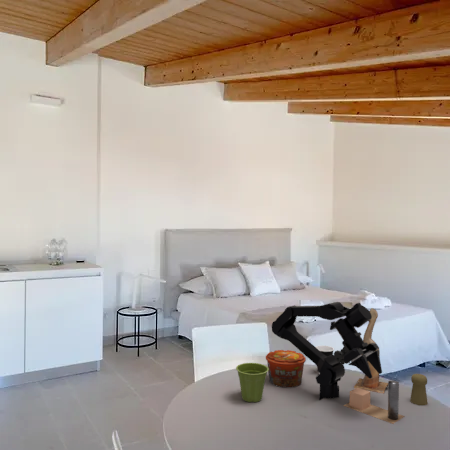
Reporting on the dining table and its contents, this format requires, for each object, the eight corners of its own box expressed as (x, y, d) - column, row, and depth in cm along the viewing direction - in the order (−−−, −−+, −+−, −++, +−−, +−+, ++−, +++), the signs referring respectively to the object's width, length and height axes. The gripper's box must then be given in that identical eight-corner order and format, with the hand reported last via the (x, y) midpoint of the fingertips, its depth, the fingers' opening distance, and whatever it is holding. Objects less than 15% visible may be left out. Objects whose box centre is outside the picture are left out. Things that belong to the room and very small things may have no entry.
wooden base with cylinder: (343, 408, 153) (343, 372, 152) (355, 402, 158) (356, 366, 158) (392, 427, 139) (393, 387, 139) (404, 419, 145) (405, 381, 145)
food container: (301, 392, 168) (301, 363, 168) (260, 385, 174) (260, 358, 173) (308, 377, 183) (309, 351, 183) (271, 372, 189) (271, 347, 188)
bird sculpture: (357, 383, 178) (356, 303, 178) (388, 387, 173) (387, 305, 173) (353, 393, 168) (351, 309, 167) (386, 398, 163) (384, 311, 162)
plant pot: (231, 402, 158) (231, 371, 158) (242, 390, 169) (242, 361, 169) (262, 408, 153) (263, 375, 153) (272, 395, 164) (272, 365, 164)
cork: (430, 410, 153) (430, 378, 153) (411, 408, 154) (412, 377, 154) (425, 403, 159) (426, 372, 158) (407, 401, 160) (408, 371, 160)
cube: (349, 405, 153) (349, 391, 152) (357, 401, 156) (357, 387, 156) (362, 410, 149) (362, 395, 149) (370, 406, 152) (370, 391, 152)
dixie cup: (337, 376, 184) (337, 350, 184) (319, 377, 183) (319, 351, 182) (328, 370, 192) (328, 344, 192) (311, 371, 190) (311, 345, 190)
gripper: (343, 343, 166) (367, 382, 159) (320, 349, 152) (346, 392, 145) (366, 327, 161) (392, 366, 154) (345, 332, 147) (373, 376, 140)
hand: (376, 375), depth 148 cm, fingers open, 9 cm apart
